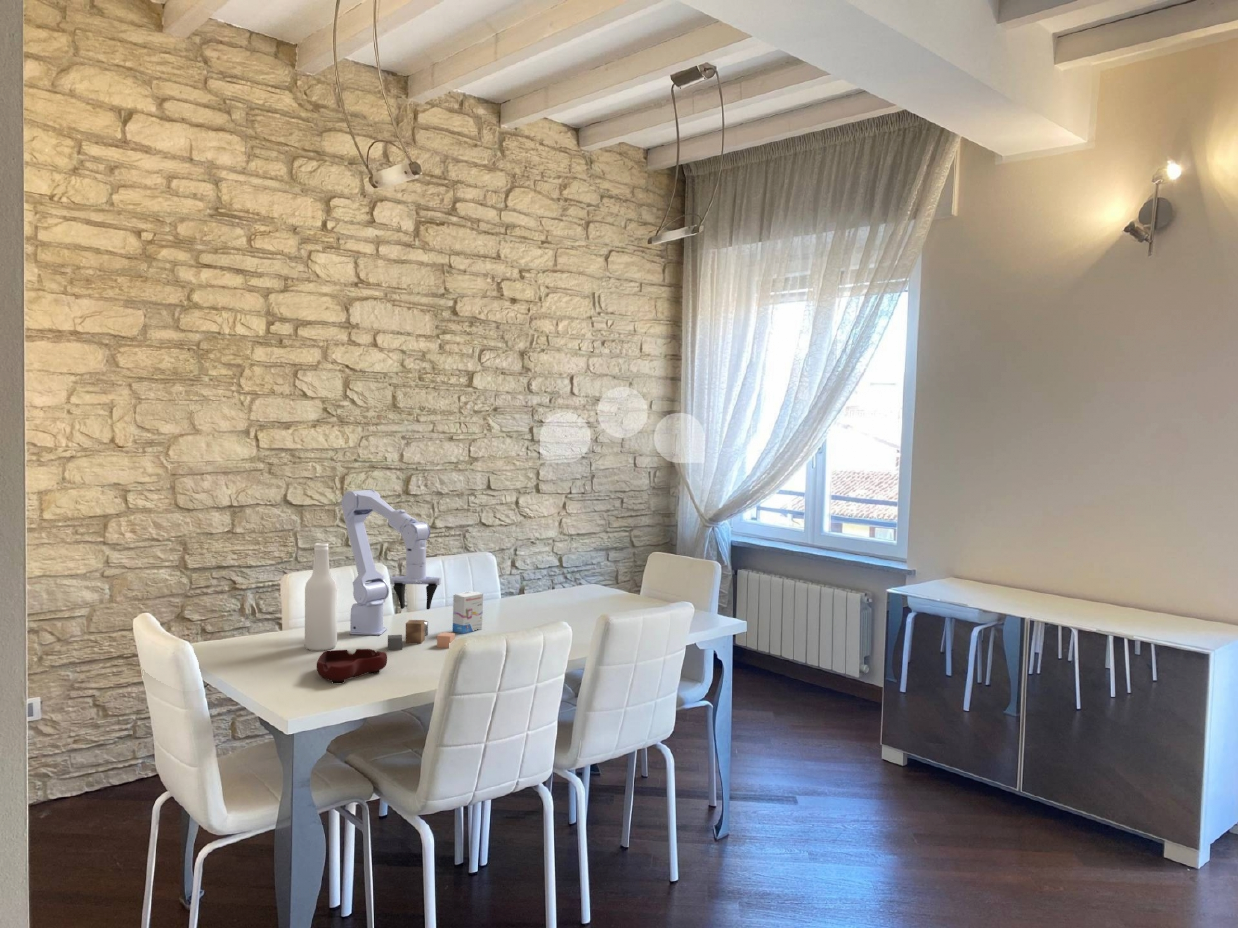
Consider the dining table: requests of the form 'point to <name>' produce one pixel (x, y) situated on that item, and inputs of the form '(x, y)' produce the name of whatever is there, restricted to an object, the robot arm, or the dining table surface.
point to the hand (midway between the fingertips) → (415, 608)
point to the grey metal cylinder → (426, 628)
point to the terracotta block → (445, 639)
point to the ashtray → (349, 664)
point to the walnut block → (415, 631)
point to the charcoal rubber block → (394, 642)
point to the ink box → (467, 611)
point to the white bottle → (321, 603)
